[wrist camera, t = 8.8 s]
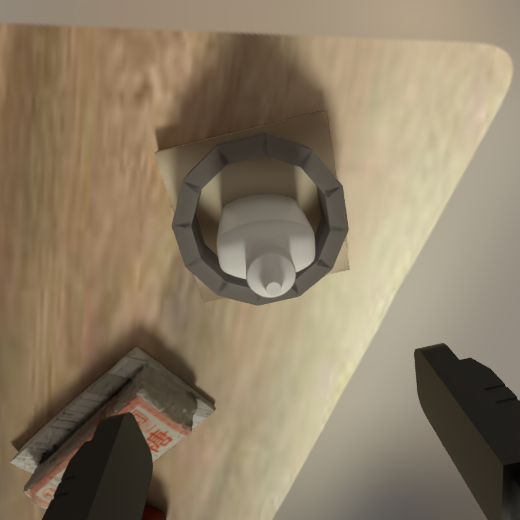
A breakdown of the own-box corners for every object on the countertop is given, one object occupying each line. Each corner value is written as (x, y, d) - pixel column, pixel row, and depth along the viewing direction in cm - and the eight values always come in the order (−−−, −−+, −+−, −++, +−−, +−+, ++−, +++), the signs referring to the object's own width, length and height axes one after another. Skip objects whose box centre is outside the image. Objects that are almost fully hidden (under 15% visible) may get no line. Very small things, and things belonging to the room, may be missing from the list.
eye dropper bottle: (236, 172, 27) (233, 222, 16) (307, 203, 28) (351, 269, 17) (213, 227, 28) (197, 308, 17) (282, 254, 29) (308, 346, 18)
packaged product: (120, 376, 29) (214, 442, 32) (136, 339, 34) (216, 401, 37) (-13, 495, 33) (81, 543, 36) (16, 448, 38) (98, 495, 41)
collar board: (157, 150, 27) (144, 158, 23) (322, 110, 27) (337, 111, 23) (204, 295, 32) (199, 322, 28) (345, 263, 31) (360, 286, 27)
